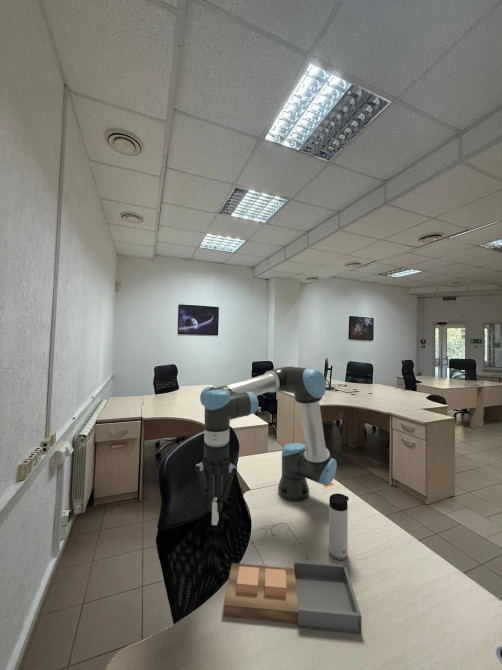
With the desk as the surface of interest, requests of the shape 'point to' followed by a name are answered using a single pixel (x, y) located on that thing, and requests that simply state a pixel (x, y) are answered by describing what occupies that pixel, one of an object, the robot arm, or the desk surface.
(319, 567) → the tray
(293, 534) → the eyeglasses
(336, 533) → the travel mug
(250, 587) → the tile
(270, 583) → the tile
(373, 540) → the desk surface
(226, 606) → the wooden plank
